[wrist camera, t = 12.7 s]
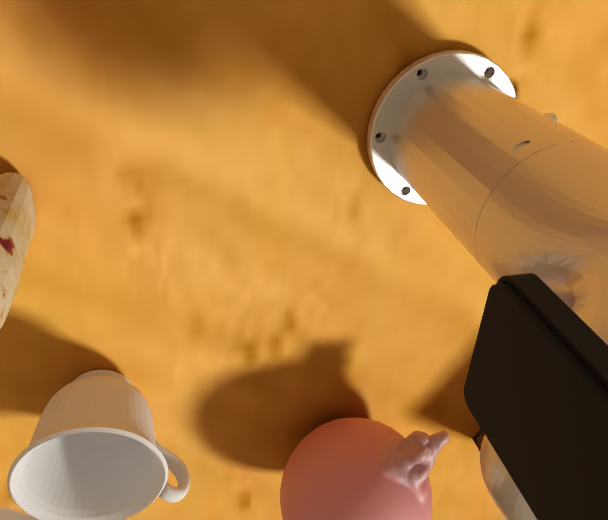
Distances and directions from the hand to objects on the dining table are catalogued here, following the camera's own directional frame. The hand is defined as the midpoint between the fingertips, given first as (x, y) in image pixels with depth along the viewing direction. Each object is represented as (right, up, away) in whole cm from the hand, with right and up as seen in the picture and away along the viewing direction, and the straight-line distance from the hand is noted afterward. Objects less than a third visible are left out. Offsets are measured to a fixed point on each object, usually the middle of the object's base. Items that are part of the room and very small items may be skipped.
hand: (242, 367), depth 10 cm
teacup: (-17, -11, +43) cm, 48 cm away
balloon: (+6, -16, +53) cm, 56 cm away
